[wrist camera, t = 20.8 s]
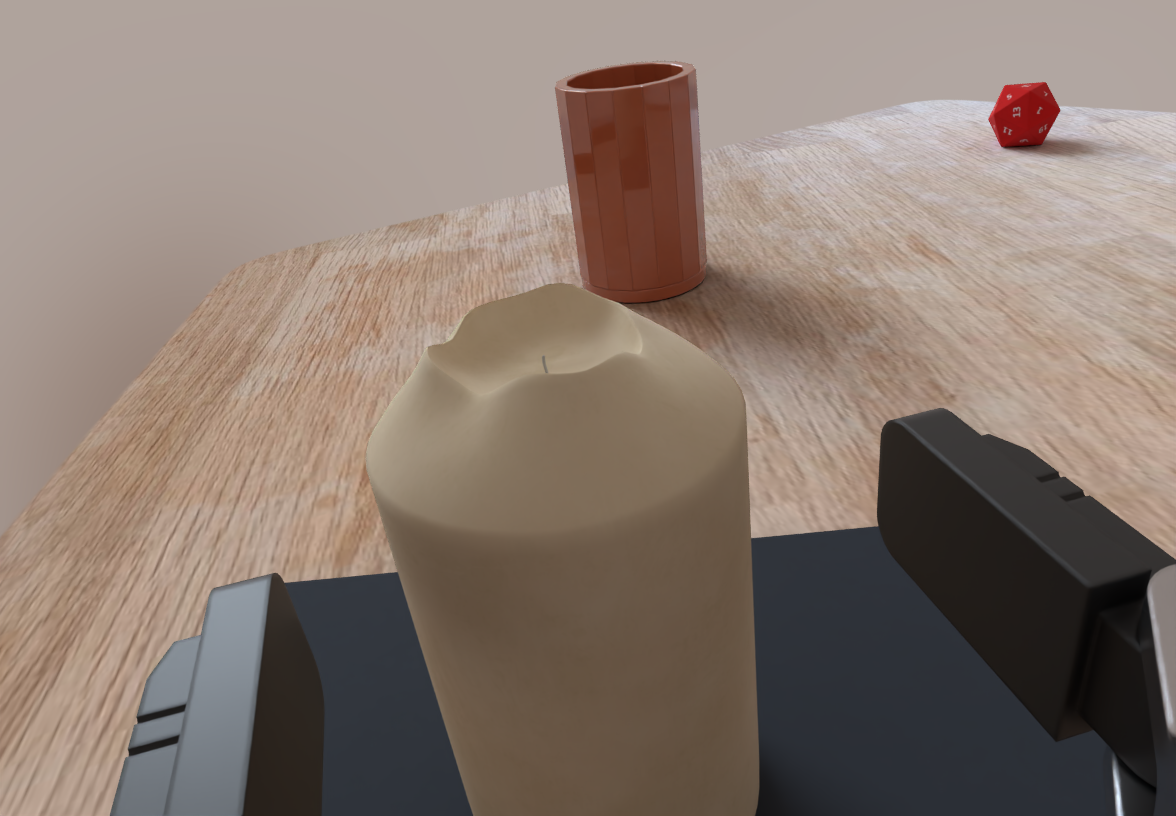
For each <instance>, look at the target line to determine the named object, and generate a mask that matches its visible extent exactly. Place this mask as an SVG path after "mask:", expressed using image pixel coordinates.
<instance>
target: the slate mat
mask: <svg viewBox="0 0 1176 816" xmlns="http://www.w3.org/2000/svg"><path fill="white" fill-rule="evenodd" d="M751 553H752V580H753V606H754V633H755V660H756V687H757V714H758V740H759V796H758V805H757V809H756V814H755V816H1107V815H1106V802H1105V789H1104V776H1103V756H1104V753H1105V749H1106V745H1107V744H1106V743H1105V742H1104V740H1103V739H1102V738H1101V737H1100V736H1099V735H1098V734H1097V733H1096V732H1095V731H1094V730H1093V731H1090V732H1087V733H1083V734H1080V735H1077V736H1074V737H1071V738H1068V739H1065V740H1062V741H1058V742H1055V740H1054V739H1053V738H1052V737H1051V736H1050V735H1049V734H1048V733H1047V731H1046V730H1045V729H1044V728H1043V727H1042V726H1041V725H1040V723H1039V722H1038V721H1037V720H1036V719H1035V718H1034V717H1033V716H1032V714H1031V713H1030V712H1029V711H1028V710H1027V709H1026V708H1025V706H1024V705H1023V704H1022V703H1021V702H1020V701H1019V700H1018V699H1017V697H1016V696H1015V695H1014V694H1013V693H1012V692H1011V691H1010V690H1009V688H1008V687H1007V686H1006V685H1005V684H1004V683H1003V682H1002V680H1001V679H1000V678H999V677H998V676H997V675H996V674H995V673H994V671H993V670H992V669H991V668H990V667H989V666H988V665H987V663H986V662H985V661H984V660H983V659H982V658H981V657H980V656H979V654H978V653H977V652H976V651H975V650H974V649H973V648H972V646H971V645H970V644H969V643H968V642H967V641H966V640H965V639H964V637H963V636H962V635H961V634H960V633H959V632H958V631H957V630H956V628H955V627H954V626H953V625H952V624H951V623H950V622H949V620H948V619H947V618H946V617H945V616H944V615H943V614H942V613H941V611H940V610H939V609H938V608H937V607H936V606H935V605H934V603H933V602H932V601H931V600H930V599H929V598H928V597H927V596H926V594H925V593H924V592H923V591H922V590H921V589H920V588H919V587H918V585H917V584H916V583H915V582H914V581H913V580H912V579H911V577H910V576H909V575H908V574H907V573H906V572H905V571H904V570H903V568H902V567H901V566H900V565H899V564H898V563H897V562H896V560H895V559H894V558H893V557H892V556H891V554H890V553H889V551H888V549H887V547H886V545H885V543H884V541H883V539H882V536H881V533H880V529H879V526H877V527H866V528H856V529H845V530H835V531H824V532H814V533H803V534H793V535H782V536H772V537H761V538H751ZM285 586H286V588H287V591H288V593H289V596H290V598H291V601H292V603H293V606H294V608H295V611H296V613H297V616H298V618H299V621H300V623H301V626H302V628H303V631H304V633H305V636H306V638H307V641H308V643H309V646H310V648H311V651H312V653H313V656H314V658H315V661H316V664H317V667H318V670H319V674H320V679H321V683H322V689H323V696H324V709H325V716H324V749H323V783H322V816H473V813H472V810H471V807H470V804H469V801H468V798H467V795H466V791H465V788H464V785H463V782H462V779H461V775H460V772H459V769H458V766H457V762H456V759H455V756H454V753H453V749H452V746H451V743H450V740H449V736H448V733H447V730H446V727H445V723H444V720H443V717H442V714H441V710H440V707H439V704H438V701H437V697H436V694H435V691H434V688H433V684H432V681H431V678H430V675H429V671H428V668H427V665H426V662H425V658H424V655H423V652H422V649H421V646H420V642H419V639H418V636H417V633H416V629H415V626H414V623H413V620H412V616H411V613H410V610H409V607H408V603H407V600H406V597H405V594H404V590H403V587H402V584H401V581H400V577H399V574H398V572H395V573H384V574H374V575H363V576H353V577H342V578H332V579H321V580H311V581H300V582H290V583H285Z"/></svg>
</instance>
